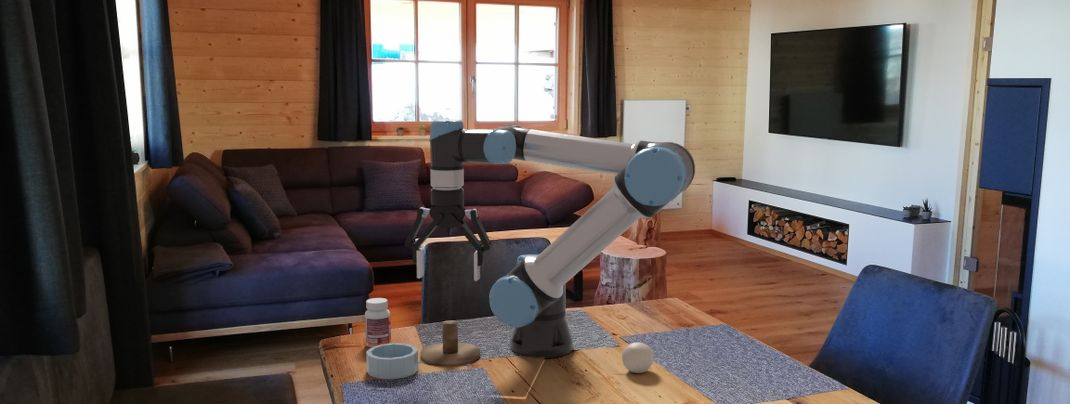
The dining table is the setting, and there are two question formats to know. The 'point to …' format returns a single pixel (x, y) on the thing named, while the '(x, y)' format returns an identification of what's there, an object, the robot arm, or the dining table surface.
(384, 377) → the bowl
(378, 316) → the pill bottle
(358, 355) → the dining table surface
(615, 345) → the dining table surface
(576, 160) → the robot arm
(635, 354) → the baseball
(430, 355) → the lid
